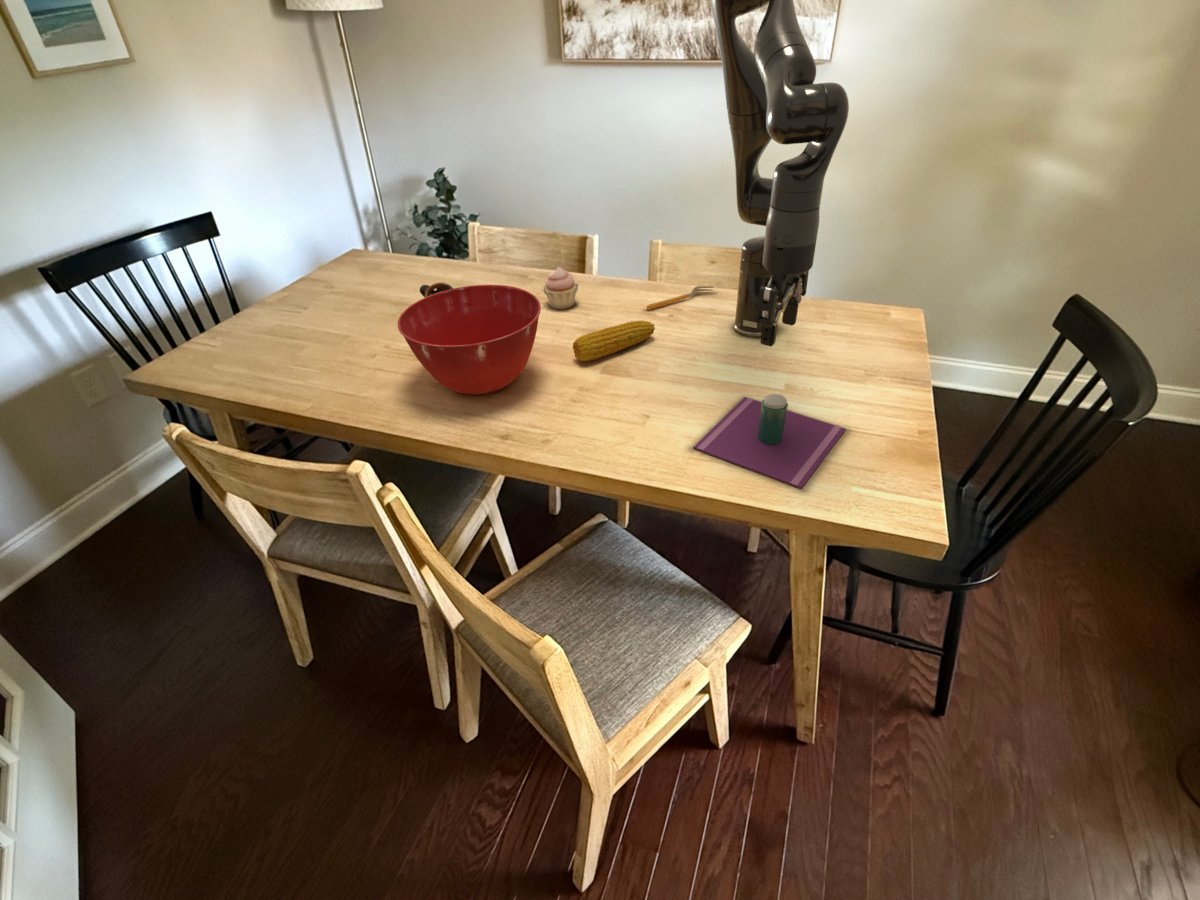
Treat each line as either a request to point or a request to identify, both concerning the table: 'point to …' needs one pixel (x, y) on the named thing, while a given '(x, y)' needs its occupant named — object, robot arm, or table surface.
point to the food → (611, 339)
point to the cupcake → (560, 289)
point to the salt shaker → (772, 419)
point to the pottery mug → (429, 290)
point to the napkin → (781, 461)
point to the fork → (679, 297)
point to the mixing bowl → (473, 335)
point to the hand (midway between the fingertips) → (778, 334)
